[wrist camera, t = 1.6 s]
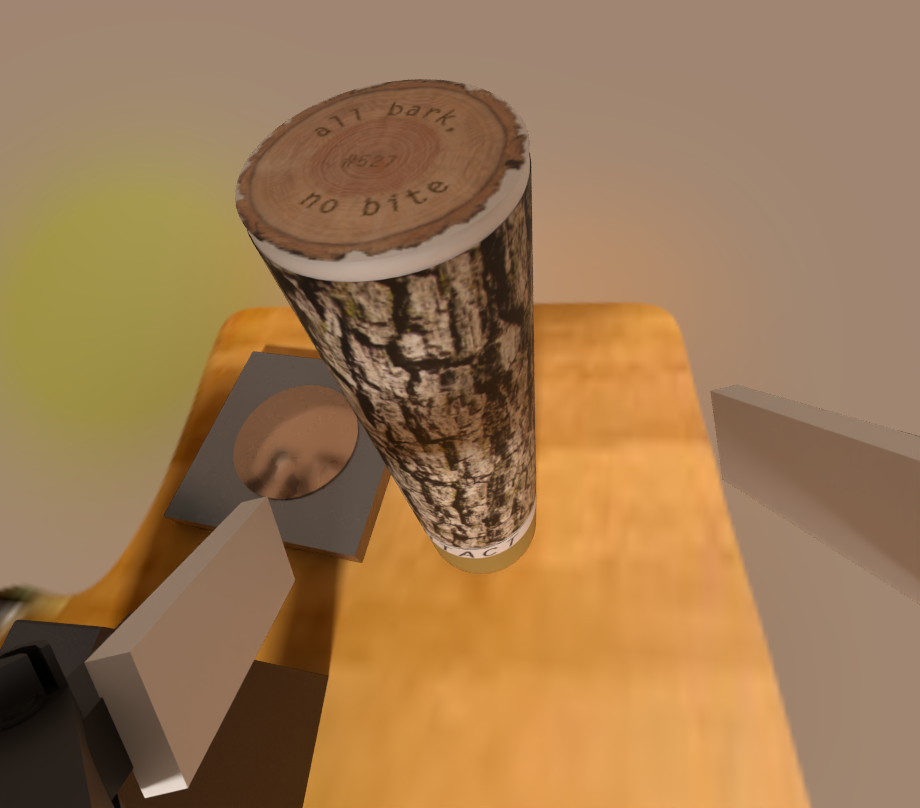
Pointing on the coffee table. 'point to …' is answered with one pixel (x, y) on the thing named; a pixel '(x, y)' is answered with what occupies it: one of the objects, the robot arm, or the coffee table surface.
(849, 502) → the robot arm
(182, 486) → the plate
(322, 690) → the light fixture
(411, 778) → the coffee table surface
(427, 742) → the coffee table surface
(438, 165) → the paper tube
